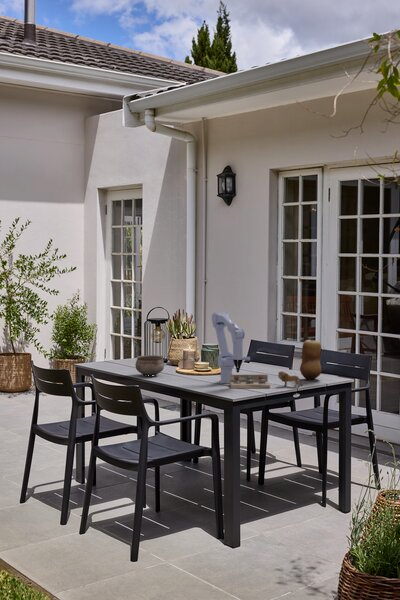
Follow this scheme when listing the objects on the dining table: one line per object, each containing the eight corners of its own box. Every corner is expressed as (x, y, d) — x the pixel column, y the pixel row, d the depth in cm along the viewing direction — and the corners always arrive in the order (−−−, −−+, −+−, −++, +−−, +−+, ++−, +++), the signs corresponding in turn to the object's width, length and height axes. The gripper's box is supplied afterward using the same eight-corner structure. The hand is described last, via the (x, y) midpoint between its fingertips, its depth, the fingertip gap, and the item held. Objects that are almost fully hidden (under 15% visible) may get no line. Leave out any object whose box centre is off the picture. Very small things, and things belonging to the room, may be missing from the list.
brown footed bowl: (149, 372, 533) (148, 354, 533) (172, 374, 524) (172, 355, 523) (126, 377, 512) (126, 358, 511) (151, 379, 502) (150, 360, 502)
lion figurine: (277, 386, 474) (277, 371, 474) (278, 385, 480) (278, 370, 479) (302, 387, 472) (302, 372, 471) (302, 386, 477) (303, 371, 477)
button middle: (246, 382, 478) (246, 379, 477) (252, 382, 478) (252, 379, 478) (247, 383, 474) (247, 380, 474) (253, 383, 474) (253, 380, 474)
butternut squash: (320, 381, 494) (321, 341, 493) (299, 380, 497) (299, 341, 495) (321, 378, 508) (321, 339, 507) (300, 377, 510) (300, 338, 509)
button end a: (234, 384, 477) (234, 381, 477) (239, 384, 478) (239, 381, 477) (234, 385, 474) (234, 382, 474) (240, 385, 474) (240, 382, 474)
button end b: (258, 382, 478) (258, 379, 478) (264, 382, 478) (264, 379, 478) (259, 383, 474) (259, 380, 474) (265, 383, 474) (265, 380, 474)
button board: (229, 384, 483) (229, 374, 482) (267, 384, 483) (267, 374, 483) (231, 388, 469) (231, 378, 468) (270, 388, 469) (270, 378, 469)
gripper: (226, 350, 470) (226, 373, 471) (250, 350, 471) (250, 373, 471) (225, 349, 477) (225, 371, 478) (249, 349, 478) (249, 371, 478)
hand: (237, 372), depth 475 cm, fingers closed
